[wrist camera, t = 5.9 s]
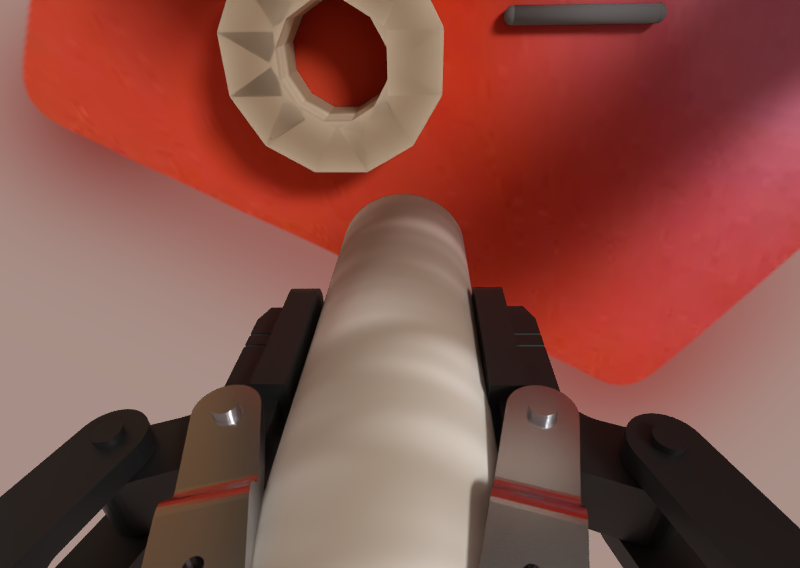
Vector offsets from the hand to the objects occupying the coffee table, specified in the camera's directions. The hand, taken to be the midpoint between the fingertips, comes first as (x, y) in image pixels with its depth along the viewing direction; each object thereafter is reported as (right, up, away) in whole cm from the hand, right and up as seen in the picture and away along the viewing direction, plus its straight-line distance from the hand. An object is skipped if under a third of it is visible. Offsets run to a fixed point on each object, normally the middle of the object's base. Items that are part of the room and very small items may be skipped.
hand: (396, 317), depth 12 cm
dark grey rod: (+11, +16, +14) cm, 24 cm away
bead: (-3, +15, +16) cm, 22 cm away
